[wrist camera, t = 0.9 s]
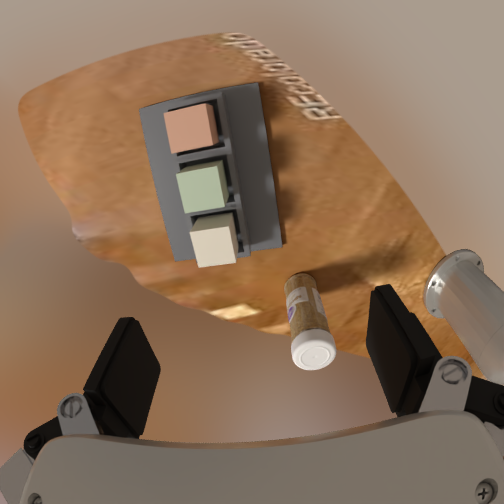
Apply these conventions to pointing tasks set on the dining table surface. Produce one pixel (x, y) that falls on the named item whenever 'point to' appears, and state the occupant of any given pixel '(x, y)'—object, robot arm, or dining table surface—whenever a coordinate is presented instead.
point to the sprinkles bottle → (308, 324)
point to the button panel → (235, 164)
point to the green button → (203, 186)
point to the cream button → (215, 240)
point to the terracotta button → (191, 128)
